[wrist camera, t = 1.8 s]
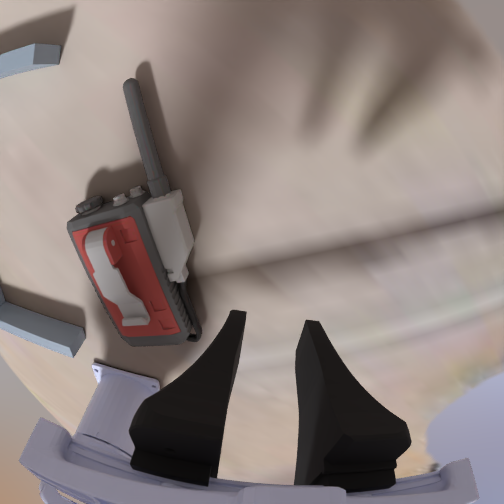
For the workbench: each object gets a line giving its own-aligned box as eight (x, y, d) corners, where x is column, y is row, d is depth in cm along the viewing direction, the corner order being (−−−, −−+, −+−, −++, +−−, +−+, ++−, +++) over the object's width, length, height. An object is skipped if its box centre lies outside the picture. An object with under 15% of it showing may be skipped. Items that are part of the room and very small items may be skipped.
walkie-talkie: (227, 326, 25) (153, 73, 16) (220, 365, 21) (122, 69, 12) (138, 333, 27) (52, 119, 18) (121, 367, 23) (14, 129, 14)
